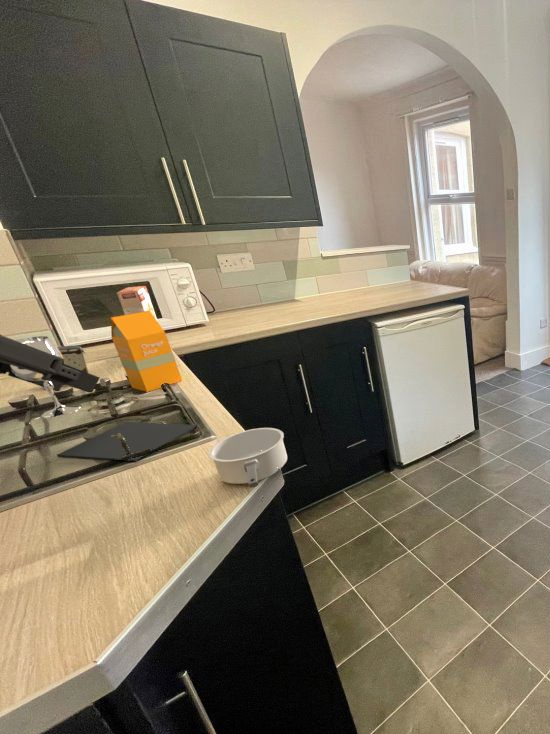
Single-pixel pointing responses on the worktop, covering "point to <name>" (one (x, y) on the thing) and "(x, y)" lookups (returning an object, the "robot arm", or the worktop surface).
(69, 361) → the food container
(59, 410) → the wineglass
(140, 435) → the mat
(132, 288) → the cracker box
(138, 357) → the orange juice
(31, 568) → the worktop surface
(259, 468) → the saucepan
